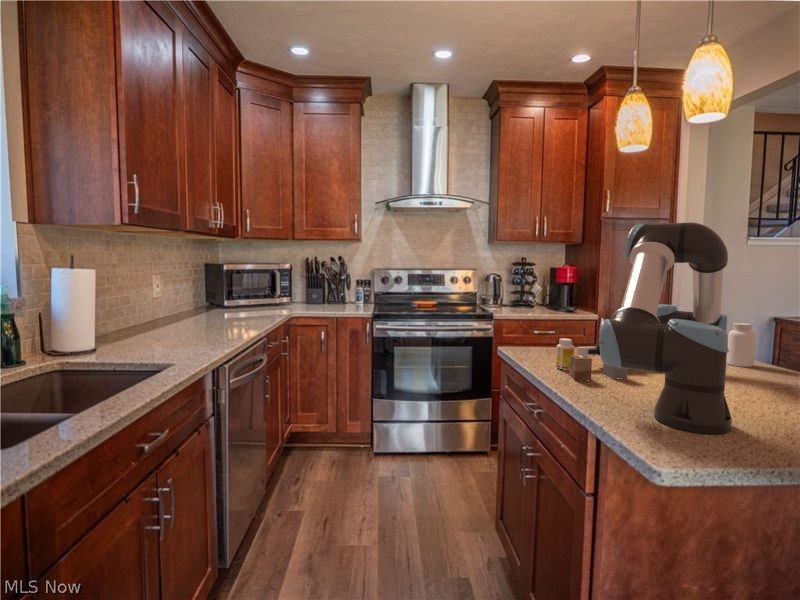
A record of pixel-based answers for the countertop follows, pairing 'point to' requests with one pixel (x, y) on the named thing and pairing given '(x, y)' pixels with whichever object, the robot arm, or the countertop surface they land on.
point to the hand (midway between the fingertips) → (578, 351)
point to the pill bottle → (741, 345)
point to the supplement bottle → (564, 353)
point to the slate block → (614, 372)
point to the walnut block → (580, 367)
